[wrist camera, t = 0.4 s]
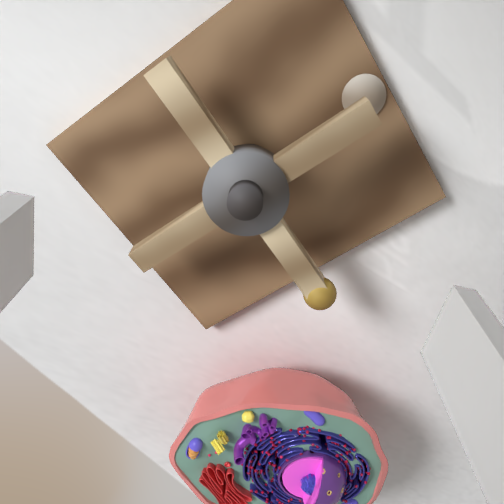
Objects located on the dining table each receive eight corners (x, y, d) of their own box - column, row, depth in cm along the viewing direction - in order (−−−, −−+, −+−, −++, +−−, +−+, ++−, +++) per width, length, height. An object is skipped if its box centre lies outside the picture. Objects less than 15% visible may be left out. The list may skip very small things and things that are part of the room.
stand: (52, 141, 38) (29, 155, 35) (309, -59, 32) (315, -68, 28) (207, 321, 46) (202, 349, 42) (441, 191, 39) (459, 210, 36)
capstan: (52, 146, 34) (28, 162, 31) (290, -37, 29) (294, -43, 25) (226, 348, 42) (223, 379, 38) (440, 235, 36) (458, 259, 33)
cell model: (203, 317, 46) (185, 404, 36) (397, 364, 48) (432, 460, 38) (170, 437, 53) (147, 537, 43) (339, 474, 55) (354, 577, 45)
